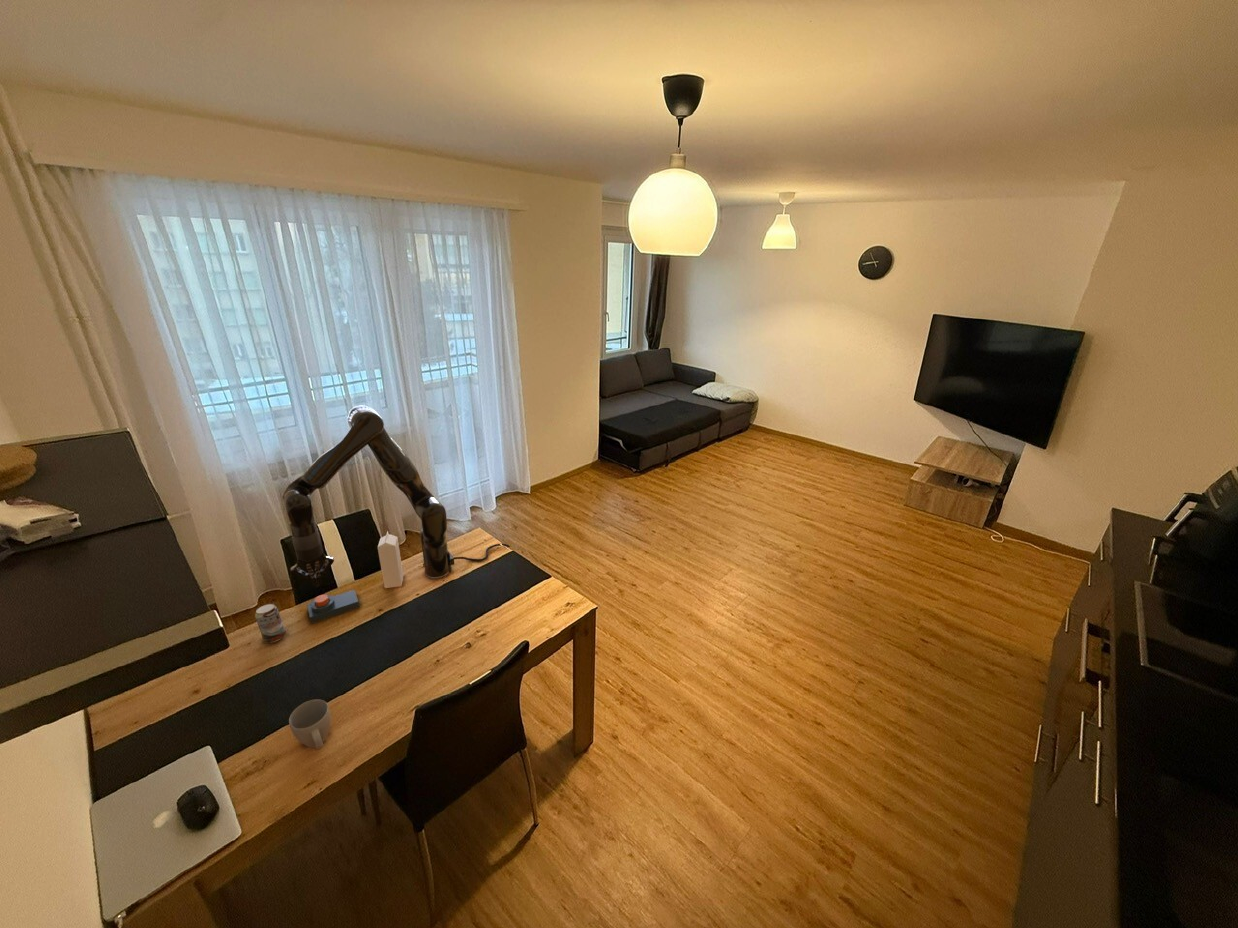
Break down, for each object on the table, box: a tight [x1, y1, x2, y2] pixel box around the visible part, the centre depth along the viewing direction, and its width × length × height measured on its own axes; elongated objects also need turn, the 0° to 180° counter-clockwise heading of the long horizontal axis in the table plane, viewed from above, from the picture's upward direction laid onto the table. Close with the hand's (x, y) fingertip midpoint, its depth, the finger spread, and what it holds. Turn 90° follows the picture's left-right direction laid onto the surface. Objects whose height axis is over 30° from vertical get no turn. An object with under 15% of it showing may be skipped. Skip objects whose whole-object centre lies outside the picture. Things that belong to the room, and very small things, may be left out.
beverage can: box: [254, 603, 286, 644], centre depth 155 cm, size 6×7×12 cm
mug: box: [288, 698, 332, 751], centre depth 125 cm, size 12×9×10 cm
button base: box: [306, 589, 360, 624], centre depth 170 cm, size 15×8×4 cm, turn 127°
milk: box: [377, 530, 404, 589], centre depth 181 cm, size 6×6×22 cm
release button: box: [314, 594, 329, 607], centre depth 167 cm, size 4×4×2 cm
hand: (317, 585), depth 164 cm, fingers closed
